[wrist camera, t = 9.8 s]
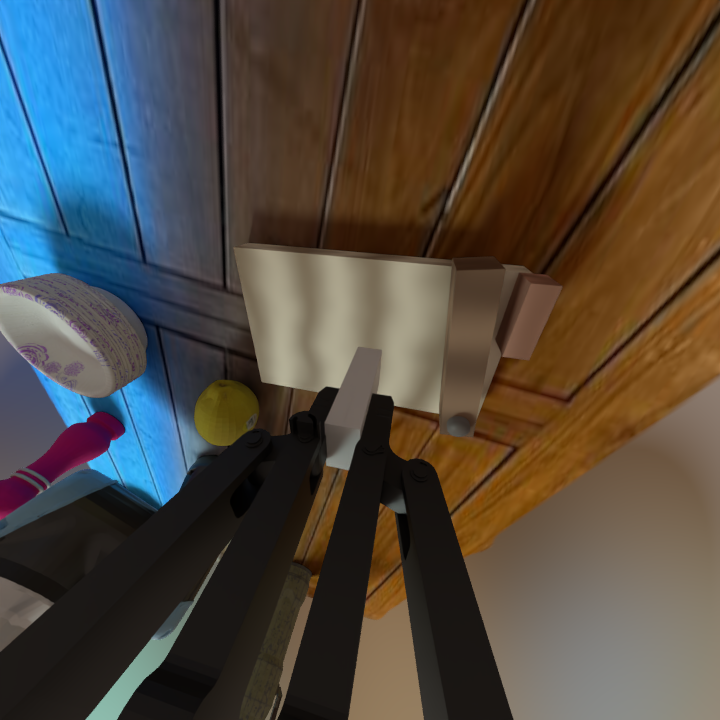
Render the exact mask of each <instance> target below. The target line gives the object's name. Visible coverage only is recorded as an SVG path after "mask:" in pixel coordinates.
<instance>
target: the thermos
mask: <svg viewBox="0 0 720 720" xmlns="http://www.w3.org/2000/svg"><path fill="white" fill-rule="evenodd" d="M311 576H312V573H311V571H310V570H309V569H307V568H306V567H304V566H302V565H300V564H298V563H294V562H292V563H291V566H290V569H289V572H288V575H287V577H286V580H285V583H284V586H283V589H282V591H281V594H280V597H279V600H278V603H277V605H276V608H275V611H274V614H273V617H272V619H271V622H270V625H269V628H268V630H267V633H266V636H265V639H264V642H263V644H262V647H261V650H260V653H259V656H258V658H257V661H256V664H255V667H254V670H253V672H252V675H251V678H250V681H249V684H248V686H247V689H246V692H245V695H244V698H243V702H242V705H241V711H240V717H239V720H265V718H266V716H267V715H268V713H269V710H270V709H271V707H272V703H273V700H274V697H275V695H276V694H277V697H276V701H275V704H274V707H273V710H272V713H271V717H270V720H275V718H276V714H277V711H278V708H279V704H280V701H281V698H282V692H281V687H279V681H280V677H281V674H282V671H283V660H284V658H285V654H286V651H287V648H288V645H289V642H290V638H291V635H292V632H293V629H294V626H295V622H296V619H297V616H298V612H299V610H300V607H301V605H302V604H303V602H304V600H305V597H306V594H307V591H308V588H309V581H310V578H311Z"/></svg>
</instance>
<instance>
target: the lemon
mask: <svg viewBox="0 0 720 720" xmlns="http://www.w3.org/2000/svg"><path fill="white" fill-rule="evenodd" d="M258 416H259V404H258V400H257V398H256V396H255V394H254V393H253V392H252V391H251V390H250V389H249V388H248V387H247V386H245V385H244V384H242V383H240V382H238V381H233V380H216V381H215V382H213V383H212V384H210V385H209V386H208V387H207V388H206V389H205V390H204V391H203V392H202V393H201V395H200V396H199V398H198V400H197V402H196V406H195V413H194V421H195V425H196V429H197V431H198V433H199V434H200V435H201V436H202V437H203V438H204V439H205V440H206V441H207V442H209V443H211V444H213V445H217V446H228V445H232V444H233V443H234V442H235V441H236V440H237V439H238V438H240V437H241V436H242V435H243V434H245V433H246V432H248V431H250V430H253V428H254V427H255V425H256V423H257V420H258Z"/></svg>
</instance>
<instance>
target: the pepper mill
mask: <svg viewBox="0 0 720 720" xmlns="http://www.w3.org/2000/svg"><path fill="white" fill-rule="evenodd" d="M124 433H125V429H124V426H123V425H122V424H121V423H120V422H119V421H118V420H117V419H116V418H115V417H113V416H111V415H110V414H108V413H105V412H96V413H95V414H93V415H92V416H90V417H89V418H87V422H85V423H76V424H73V425H71V426H70V427H69V428H67V429H66V430H65V431H64V432H63V433H62V434H61V435H60V436H59V437H58V439H57V440H56V441H55V443H54V444H53V445H52V447H51V448H50V449H49V450H48V451H47V452H46V453H45V454H44V455H43V456H42V457H41V458H39V459H38V460H37V461H35V462H34V463H32V464H31V465H29V466H28V467H26V468H19V469H18V471H16V473H12V474H11V478H9V479H6V480H0V520H1V519H3V518H5V517H6V516H7V515H9V514H10V513H12V512H13V511H14V510H16V509H17V508H19V507H20V506H22V505H23V504H25V503H27V502H28V501H30V500H31V499H33V498H34V497H36V495H37V494H40V493H42V492H44V490H46V489H47V488H50V487H51V484H50V483H52V482H53V481H54V480H55V479H56V478H57V477H59V476H60V475H62V474H63V473H65V472H66V471H68V470H70V469H72V468H74V467H75V466H78V465H80V464H83V463H85V462H88V461H90V460H93V459H95V458H96V457H98V456H100V455H101V454H103V453H104V452H106V451H107V450H108V448H109V446H110V442H111V440H116V439H118V438H119V437H120V436H122V435H123V434H124Z"/></svg>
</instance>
